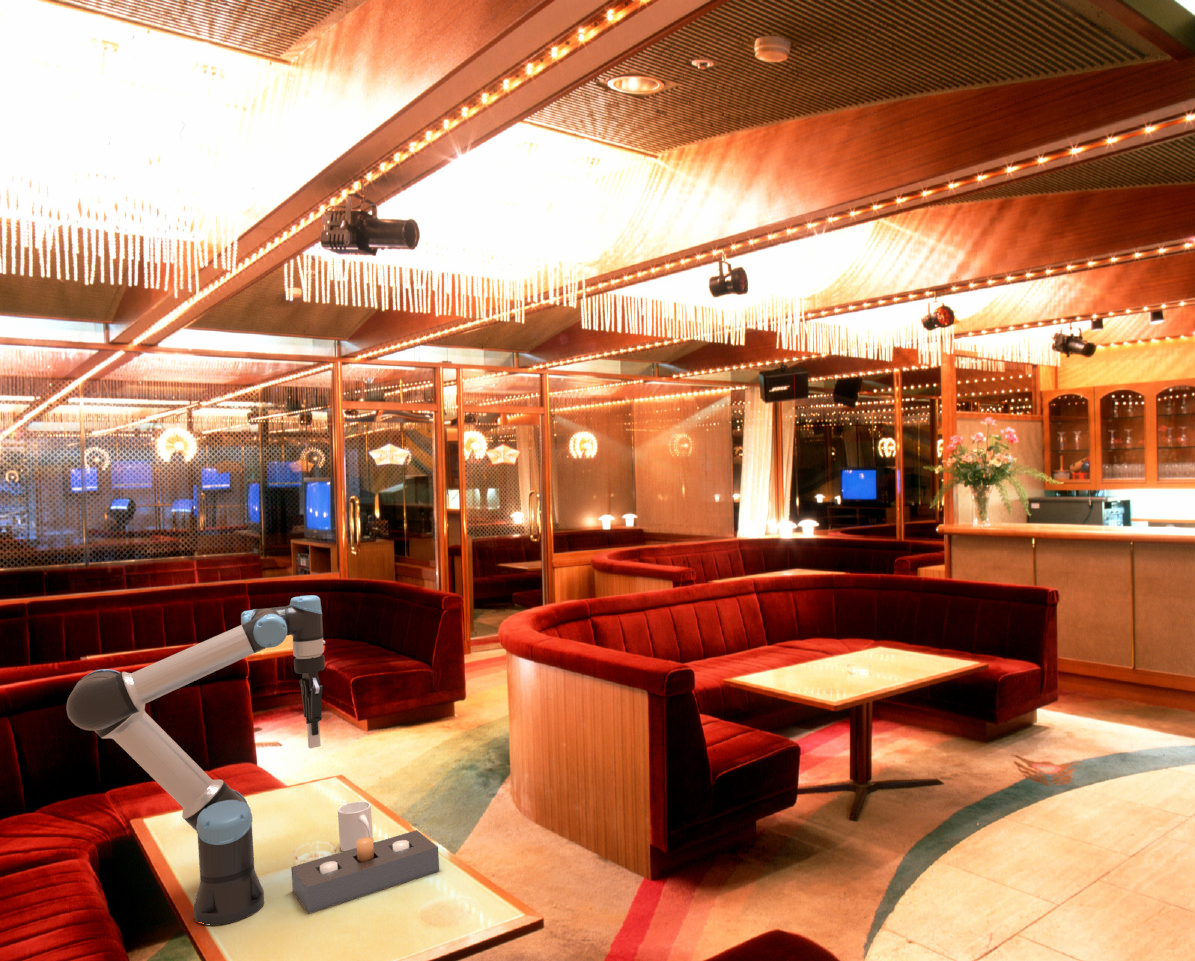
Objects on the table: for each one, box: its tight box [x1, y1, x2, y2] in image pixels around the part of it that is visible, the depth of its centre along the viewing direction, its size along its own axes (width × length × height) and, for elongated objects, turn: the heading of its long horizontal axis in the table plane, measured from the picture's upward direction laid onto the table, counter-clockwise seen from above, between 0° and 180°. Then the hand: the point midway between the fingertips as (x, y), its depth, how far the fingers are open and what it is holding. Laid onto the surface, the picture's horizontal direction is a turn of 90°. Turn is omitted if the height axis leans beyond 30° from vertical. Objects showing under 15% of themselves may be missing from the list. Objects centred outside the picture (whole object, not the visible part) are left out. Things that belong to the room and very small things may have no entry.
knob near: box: [320, 861, 338, 875], centre depth 203 cm, size 4×4×5 cm
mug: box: [337, 800, 374, 852], centre depth 228 cm, size 9×12×11 cm
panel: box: [290, 830, 440, 915], centre depth 208 cm, size 32×14×6 cm, turn 124°
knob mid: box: [356, 837, 374, 863], centre depth 208 cm, size 4×4×5 cm
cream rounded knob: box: [393, 840, 409, 852], centre depth 213 cm, size 4×4×5 cm
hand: (314, 746), depth 219 cm, fingers closed
